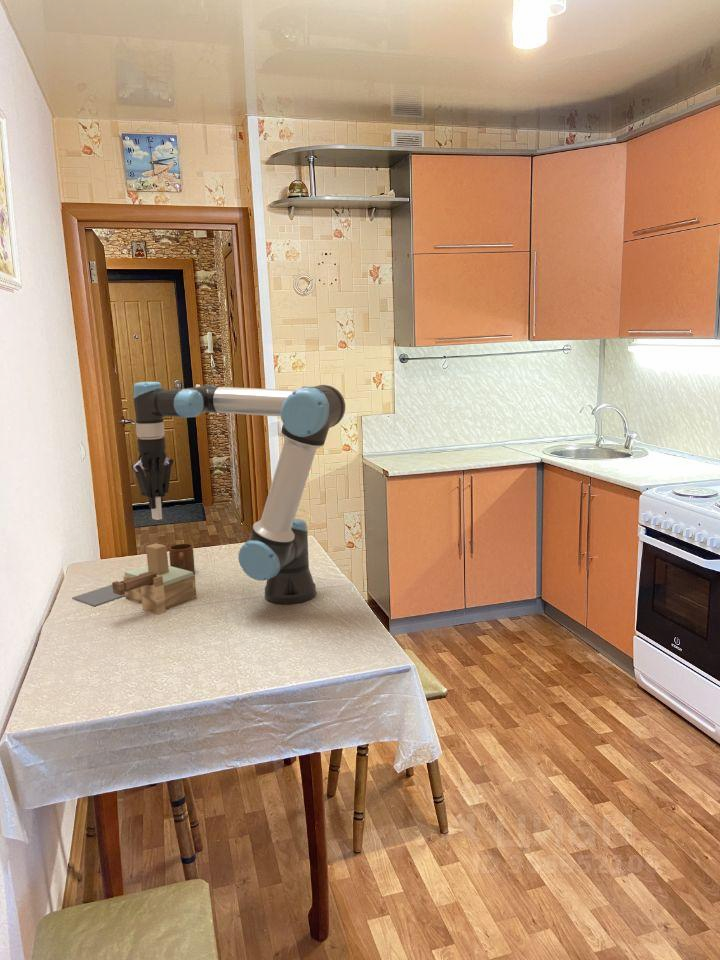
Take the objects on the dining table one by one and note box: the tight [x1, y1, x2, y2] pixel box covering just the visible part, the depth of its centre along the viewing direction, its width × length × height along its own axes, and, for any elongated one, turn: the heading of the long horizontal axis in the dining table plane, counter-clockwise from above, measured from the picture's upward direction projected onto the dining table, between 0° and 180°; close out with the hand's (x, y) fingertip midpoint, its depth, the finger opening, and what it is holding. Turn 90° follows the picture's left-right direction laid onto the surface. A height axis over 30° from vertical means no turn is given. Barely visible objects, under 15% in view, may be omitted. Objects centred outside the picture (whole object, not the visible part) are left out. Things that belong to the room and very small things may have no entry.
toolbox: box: [122, 572, 198, 615], centre depth 210 cm, size 19×14×10 cm
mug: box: [168, 543, 195, 575], centre depth 231 cm, size 12×8×9 cm, turn 15°
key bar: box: [111, 572, 157, 595], centre depth 197 cm, size 3×12×3 cm, turn 142°
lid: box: [124, 542, 194, 586], centre depth 210 cm, size 18×11×10 cm, turn 52°
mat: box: [71, 584, 125, 608], centre depth 218 cm, size 12×20×1 cm, turn 142°
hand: (157, 518), depth 205 cm, fingers closed
